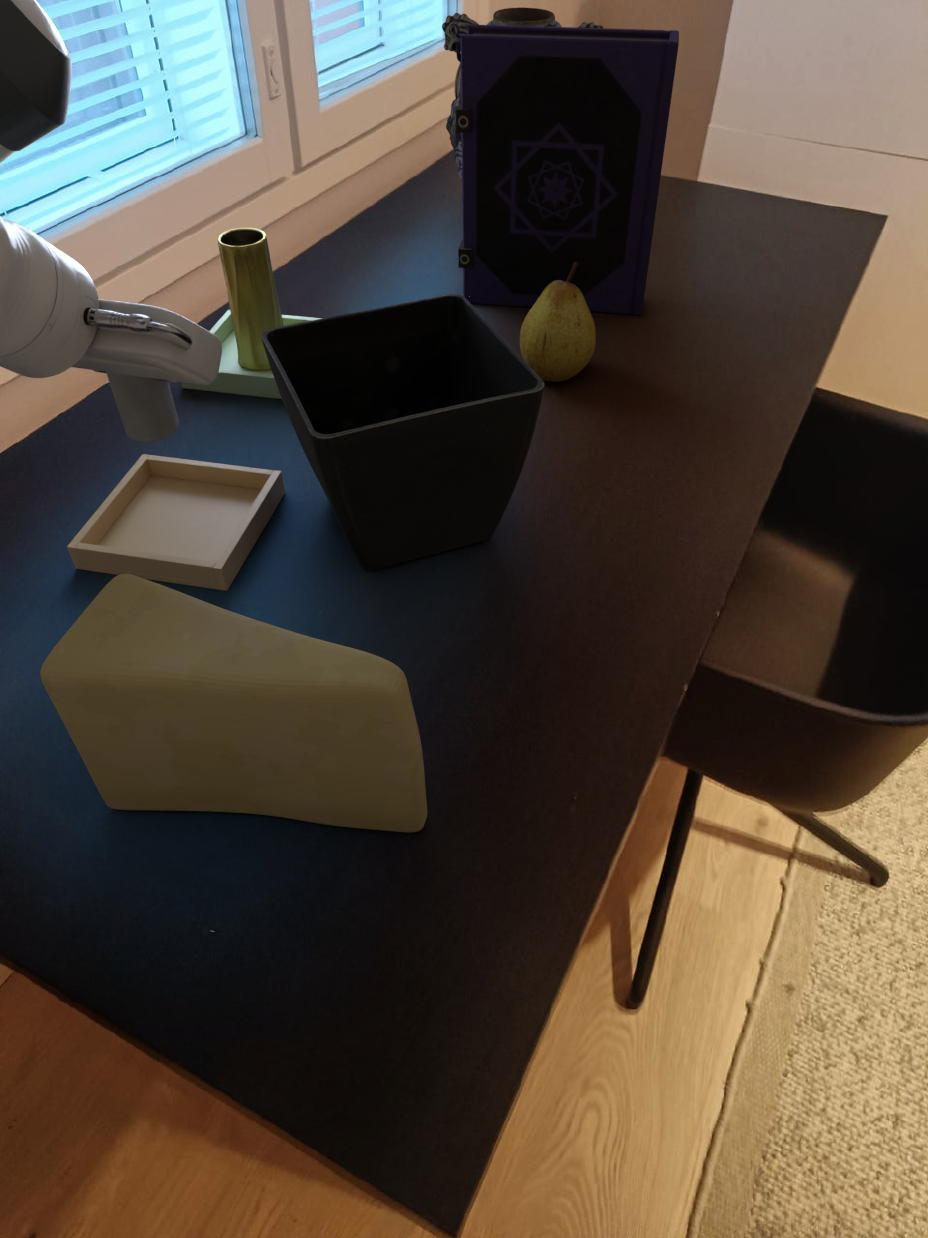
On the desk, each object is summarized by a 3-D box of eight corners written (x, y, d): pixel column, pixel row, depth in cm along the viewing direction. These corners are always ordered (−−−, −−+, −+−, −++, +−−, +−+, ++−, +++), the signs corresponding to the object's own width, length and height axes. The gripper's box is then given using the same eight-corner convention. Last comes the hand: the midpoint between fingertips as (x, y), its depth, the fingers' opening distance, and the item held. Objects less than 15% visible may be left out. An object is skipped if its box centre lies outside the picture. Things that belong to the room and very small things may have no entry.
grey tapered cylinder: (116, 427, 77) (78, 314, 70) (163, 408, 79) (131, 296, 72) (141, 449, 75) (105, 334, 68) (189, 428, 77) (159, 314, 70)
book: (643, 295, 118) (679, 28, 97) (641, 317, 114) (678, 43, 93) (467, 283, 121) (465, 22, 100) (459, 304, 117) (455, 36, 96)
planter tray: (75, 568, 80) (66, 546, 79) (149, 475, 91) (142, 453, 89) (227, 591, 78) (221, 569, 76) (285, 492, 88) (281, 470, 86)
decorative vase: (596, 220, 136) (617, 0, 117) (579, 270, 124) (599, 33, 104) (460, 209, 140) (458, -6, 120) (430, 257, 127) (422, 26, 108)
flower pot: (285, 484, 89) (256, 325, 77) (461, 443, 94) (460, 288, 82) (338, 606, 77) (314, 439, 65) (538, 551, 82) (549, 387, 70)
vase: (245, 375, 103) (220, 252, 93) (232, 352, 107) (207, 231, 97) (296, 364, 105) (277, 242, 95) (282, 341, 109) (262, 221, 99)
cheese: (446, 769, 64) (440, 622, 54) (403, 889, 58) (387, 748, 47) (170, 707, 69) (115, 560, 58) (102, 811, 62) (25, 667, 52)
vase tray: (182, 388, 103) (177, 367, 101) (232, 328, 113) (228, 309, 111) (303, 401, 100) (299, 380, 98) (342, 339, 110) (340, 319, 109)
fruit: (529, 394, 101) (534, 291, 92) (509, 355, 107) (512, 256, 99) (602, 385, 102) (614, 283, 94) (578, 348, 108) (587, 248, 100)
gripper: (174, 276, 58) (262, 344, 72) (-91, 246, 62) (39, 316, 76) (157, 371, 58) (248, 422, 72) (-107, 335, 62) (27, 390, 76)
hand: (139, 368), depth 74 cm, fingers closed on grey tapered cylinder, 4 cm apart
